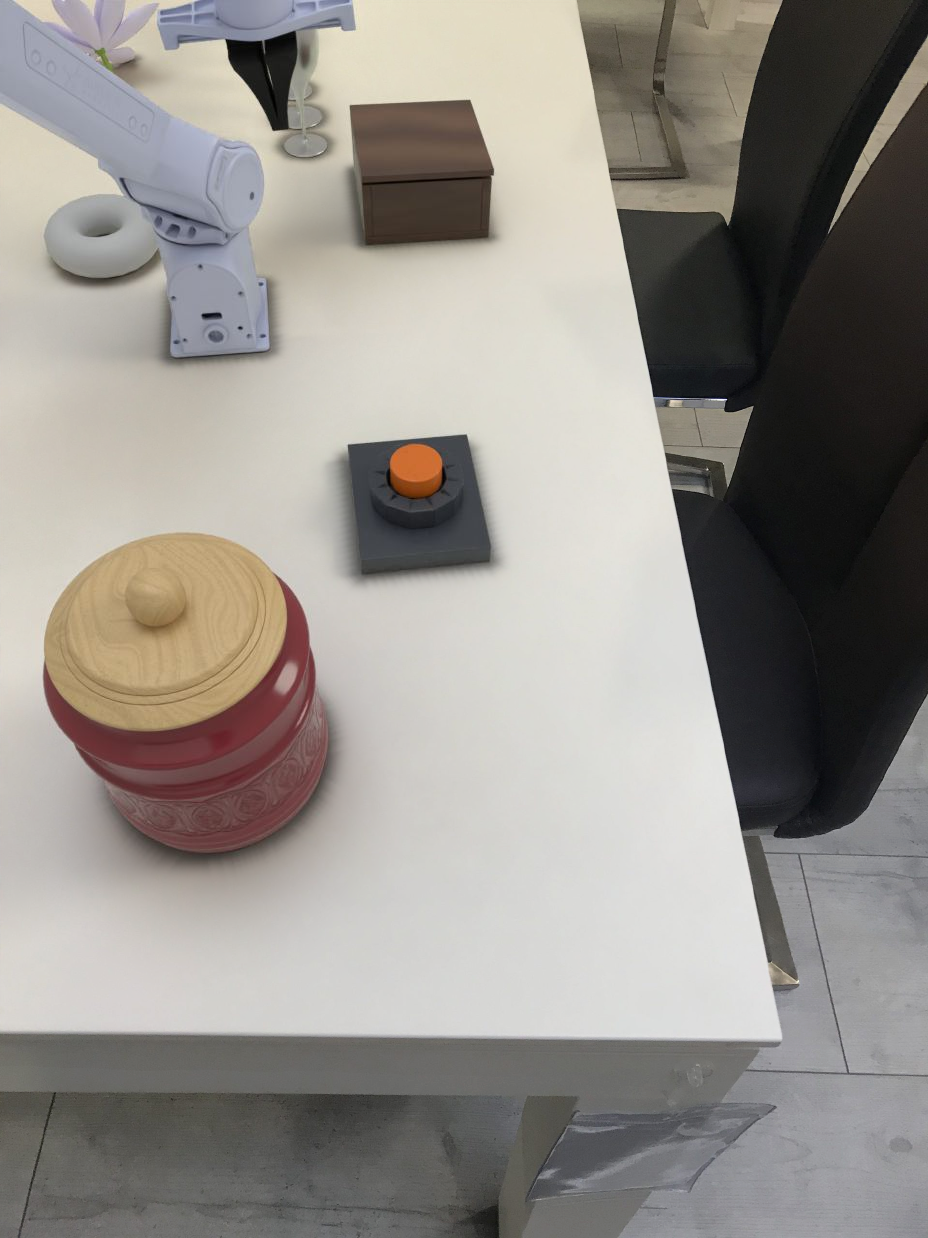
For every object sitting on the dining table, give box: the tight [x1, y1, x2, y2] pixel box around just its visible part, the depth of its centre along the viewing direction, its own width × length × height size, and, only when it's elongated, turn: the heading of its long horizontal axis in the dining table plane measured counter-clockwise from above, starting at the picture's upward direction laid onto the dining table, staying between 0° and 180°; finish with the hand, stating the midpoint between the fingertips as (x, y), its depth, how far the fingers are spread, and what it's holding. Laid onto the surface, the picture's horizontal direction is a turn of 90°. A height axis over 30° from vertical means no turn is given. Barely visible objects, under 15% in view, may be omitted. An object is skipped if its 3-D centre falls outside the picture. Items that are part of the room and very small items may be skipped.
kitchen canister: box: [42, 532, 329, 854], centre depth 48 cm, size 13×13×18 cm
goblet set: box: [283, 29, 328, 158], centre depth 95 cm, size 28×6×13 cm, turn 12°
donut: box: [43, 193, 159, 279], centre depth 81 cm, size 10×4×10 cm
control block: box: [347, 433, 492, 575], centre depth 65 cm, size 11×9×4 cm
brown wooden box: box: [349, 113, 493, 246], centre depth 86 cm, size 13×12×6 cm
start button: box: [390, 444, 442, 498], centre depth 63 cm, size 4×4×2 cm
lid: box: [349, 99, 495, 183], centre depth 83 cm, size 13×12×1 cm
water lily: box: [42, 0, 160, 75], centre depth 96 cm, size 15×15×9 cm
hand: (280, 122), depth 76 cm, fingers closed
